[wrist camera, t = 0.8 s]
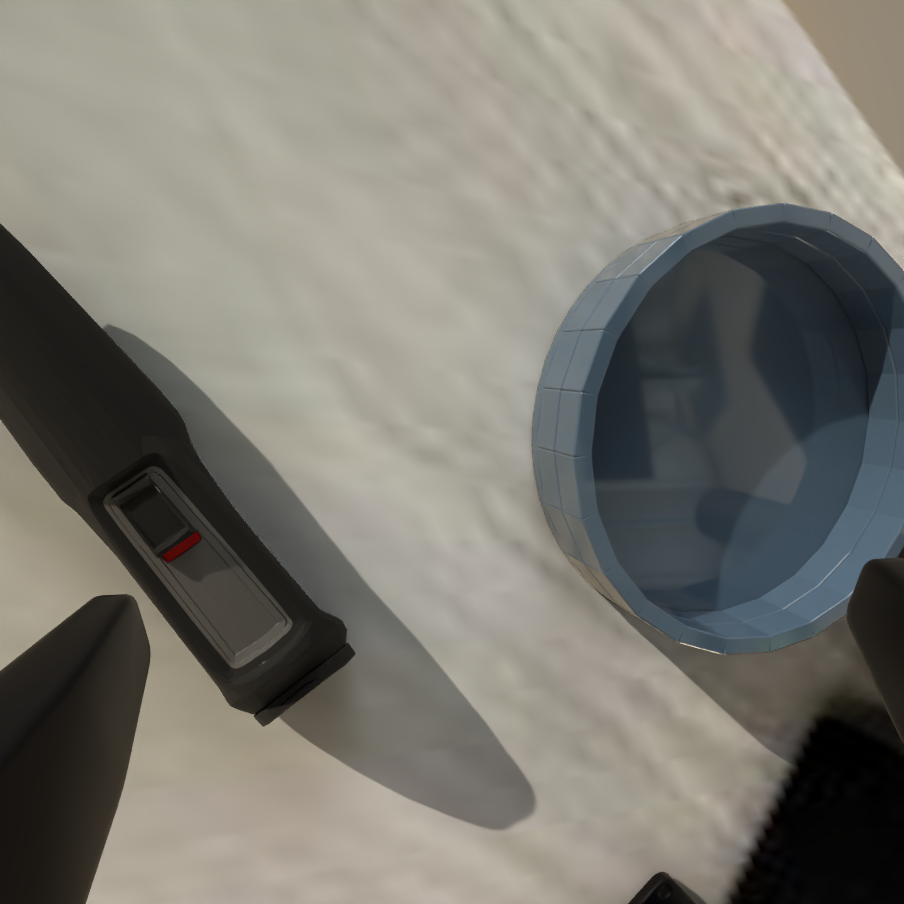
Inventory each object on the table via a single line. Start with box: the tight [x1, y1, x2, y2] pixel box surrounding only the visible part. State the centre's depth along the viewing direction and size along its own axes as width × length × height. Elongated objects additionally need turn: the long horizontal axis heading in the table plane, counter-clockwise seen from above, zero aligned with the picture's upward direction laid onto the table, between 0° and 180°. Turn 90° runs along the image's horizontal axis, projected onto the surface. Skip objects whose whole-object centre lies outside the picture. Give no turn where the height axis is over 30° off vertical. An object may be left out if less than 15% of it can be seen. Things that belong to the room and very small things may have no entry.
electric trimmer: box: [0, 224, 355, 726], centre depth 18 cm, size 4×16×3 cm, turn 32°
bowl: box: [532, 203, 904, 655], centre depth 24 cm, size 14×14×3 cm
